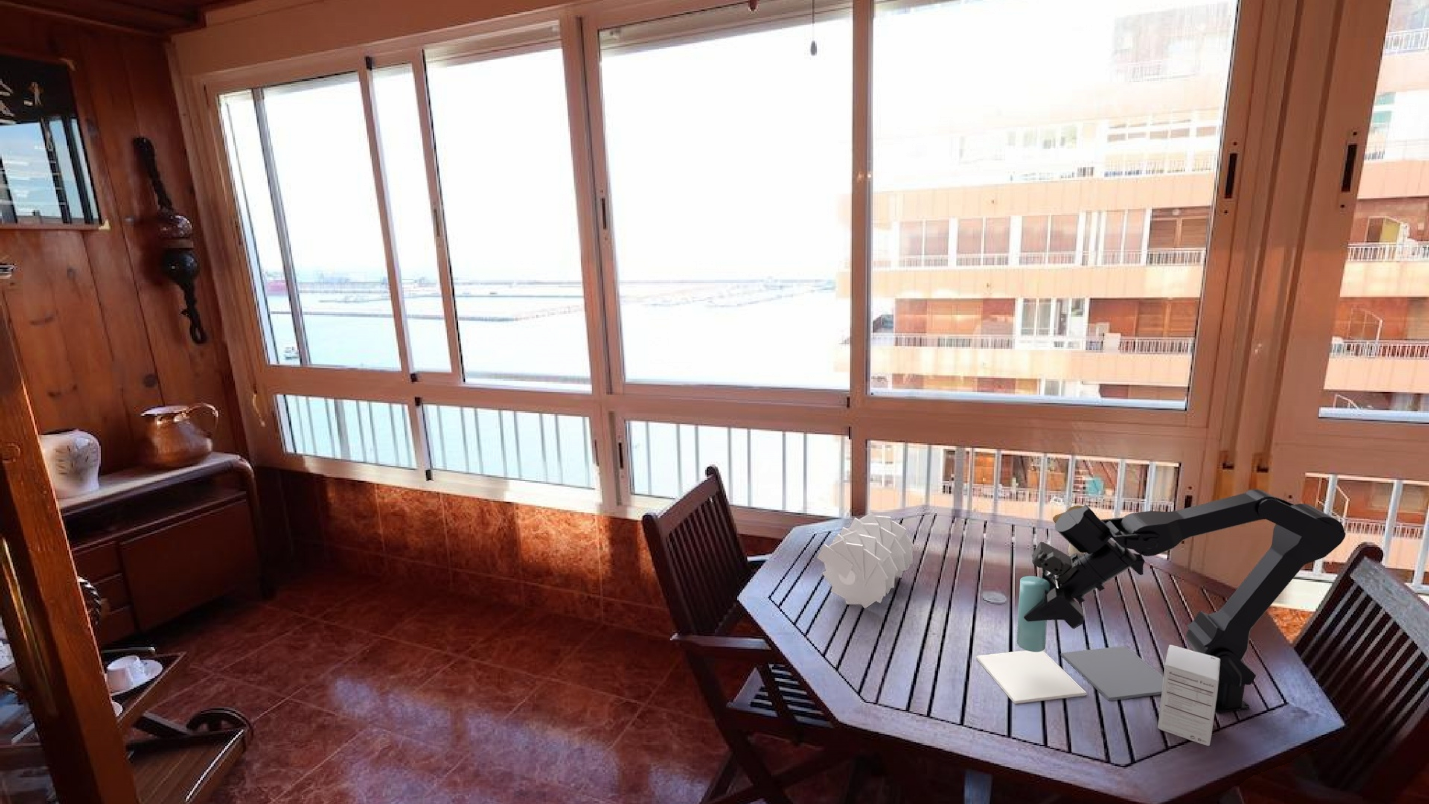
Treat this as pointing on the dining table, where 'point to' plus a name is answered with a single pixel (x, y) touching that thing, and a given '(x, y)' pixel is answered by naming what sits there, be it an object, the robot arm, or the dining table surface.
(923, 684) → the dining table surface
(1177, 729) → the supplement box
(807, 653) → the dining table surface
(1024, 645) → the teal cylinder
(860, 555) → the spiral staircase
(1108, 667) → the slate tile
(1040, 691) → the pale tile
